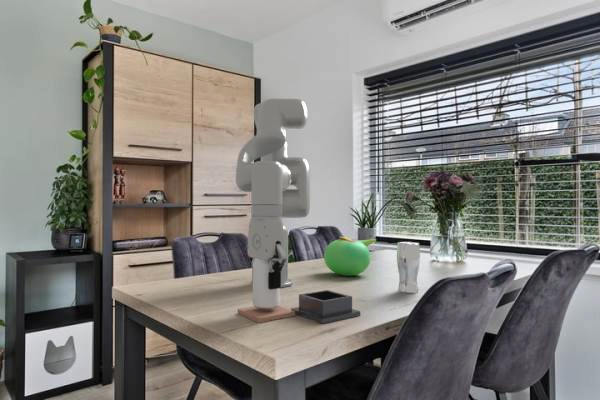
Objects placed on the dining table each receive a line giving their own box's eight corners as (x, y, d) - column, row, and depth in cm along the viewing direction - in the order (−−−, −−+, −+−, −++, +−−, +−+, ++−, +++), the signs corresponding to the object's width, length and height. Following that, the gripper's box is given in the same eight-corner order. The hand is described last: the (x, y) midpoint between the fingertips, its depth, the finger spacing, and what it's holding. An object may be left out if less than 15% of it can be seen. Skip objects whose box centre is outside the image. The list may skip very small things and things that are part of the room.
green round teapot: (315, 274, 157) (315, 235, 157) (344, 269, 169) (344, 233, 169) (351, 281, 144) (352, 239, 144) (380, 275, 155) (381, 236, 156)
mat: (237, 313, 101) (237, 309, 101) (271, 307, 107) (271, 303, 107) (259, 322, 93) (259, 318, 93) (294, 315, 99) (294, 311, 99)
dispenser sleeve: (290, 312, 102) (291, 294, 102) (327, 305, 109) (327, 288, 109) (322, 323, 92) (322, 303, 92) (360, 315, 100) (360, 296, 100)
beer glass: (420, 294, 124) (421, 244, 124) (396, 293, 125) (397, 243, 125) (418, 289, 130) (419, 242, 131) (396, 288, 132) (396, 241, 132)
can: (253, 302, 103) (253, 254, 103) (278, 302, 104) (279, 254, 104) (252, 309, 97) (252, 258, 97) (279, 308, 97) (280, 257, 97)
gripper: (235, 211, 105) (235, 282, 105) (273, 213, 91) (272, 294, 91) (261, 211, 109) (260, 278, 109) (300, 213, 96) (300, 290, 96)
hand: (266, 285), depth 100 cm, fingers closed on can, 6 cm apart
